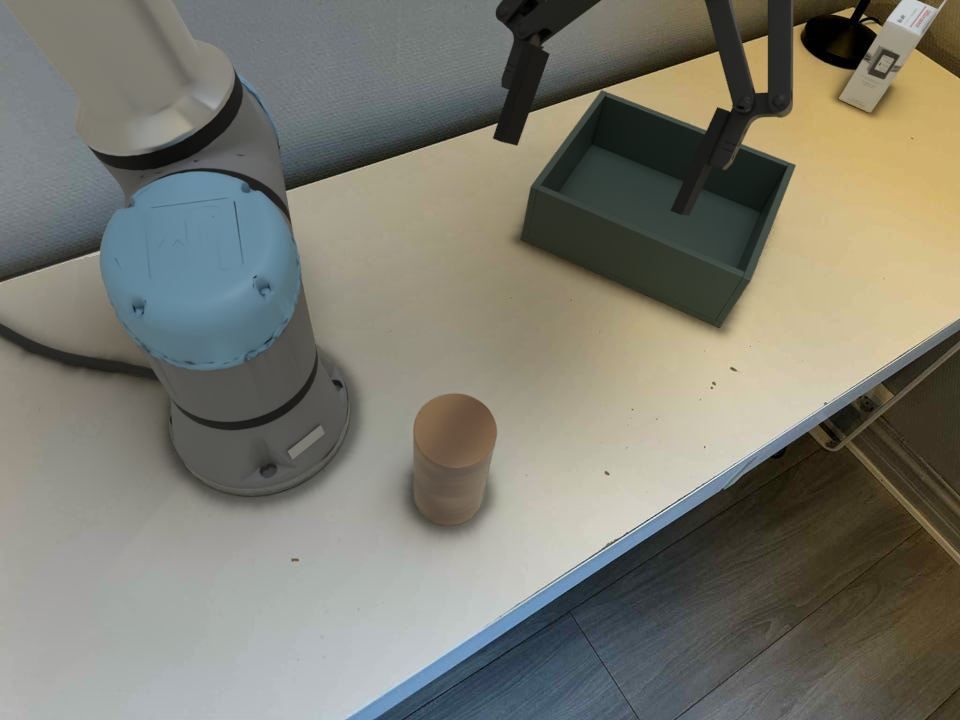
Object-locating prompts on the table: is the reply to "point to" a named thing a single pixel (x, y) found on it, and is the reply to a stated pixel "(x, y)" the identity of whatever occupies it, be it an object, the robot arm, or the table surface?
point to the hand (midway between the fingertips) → (587, 176)
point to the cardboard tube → (452, 457)
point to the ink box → (888, 53)
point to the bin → (655, 208)
